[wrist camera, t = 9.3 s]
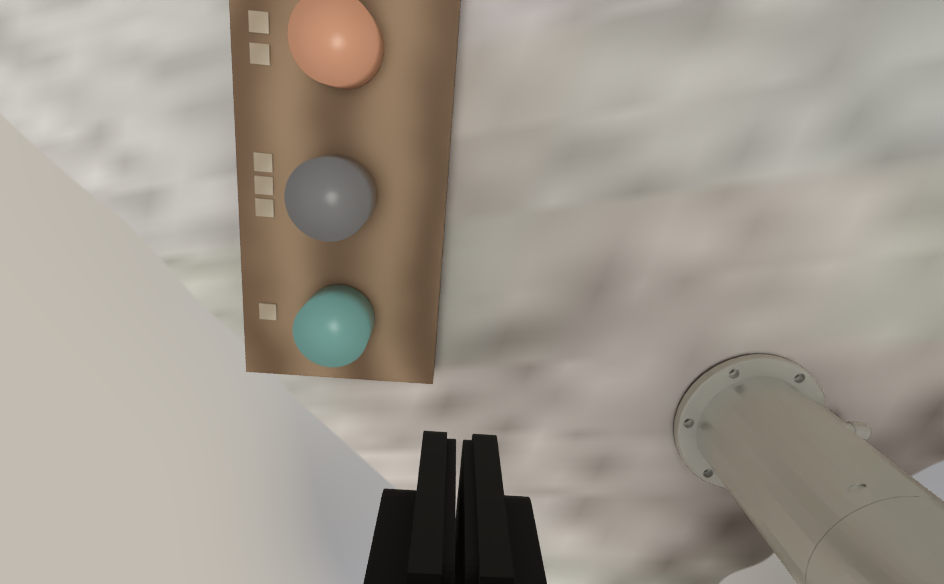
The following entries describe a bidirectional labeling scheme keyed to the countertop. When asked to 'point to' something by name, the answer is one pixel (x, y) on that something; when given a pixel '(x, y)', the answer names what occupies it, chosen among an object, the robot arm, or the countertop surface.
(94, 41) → the countertop surface
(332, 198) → the button charcoal three
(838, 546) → the robot arm
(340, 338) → the button teal one
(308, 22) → the button terracotta two
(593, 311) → the countertop surface
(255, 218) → the button panel
